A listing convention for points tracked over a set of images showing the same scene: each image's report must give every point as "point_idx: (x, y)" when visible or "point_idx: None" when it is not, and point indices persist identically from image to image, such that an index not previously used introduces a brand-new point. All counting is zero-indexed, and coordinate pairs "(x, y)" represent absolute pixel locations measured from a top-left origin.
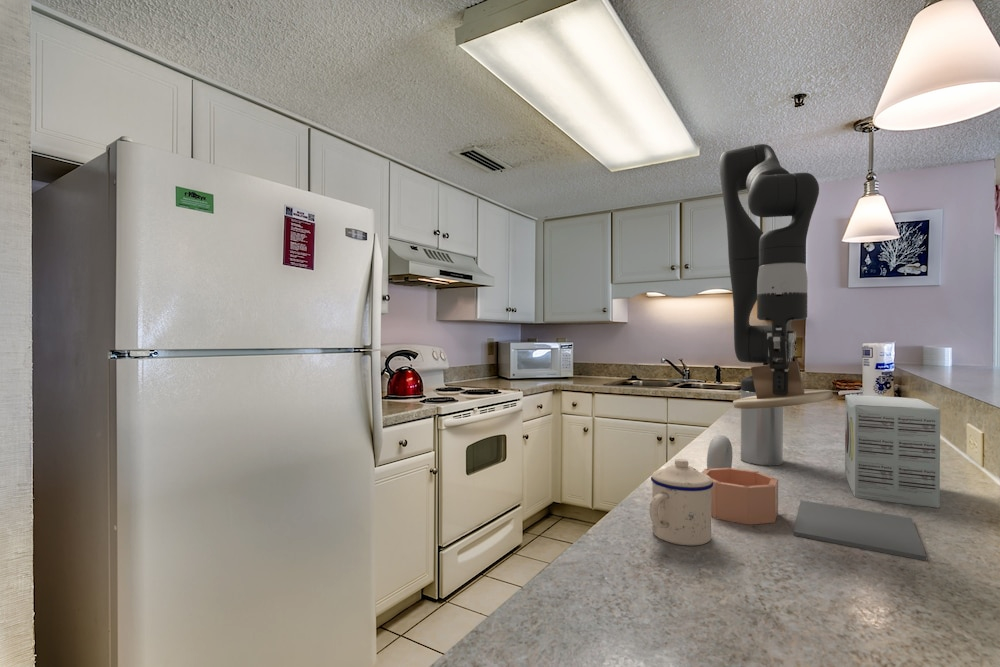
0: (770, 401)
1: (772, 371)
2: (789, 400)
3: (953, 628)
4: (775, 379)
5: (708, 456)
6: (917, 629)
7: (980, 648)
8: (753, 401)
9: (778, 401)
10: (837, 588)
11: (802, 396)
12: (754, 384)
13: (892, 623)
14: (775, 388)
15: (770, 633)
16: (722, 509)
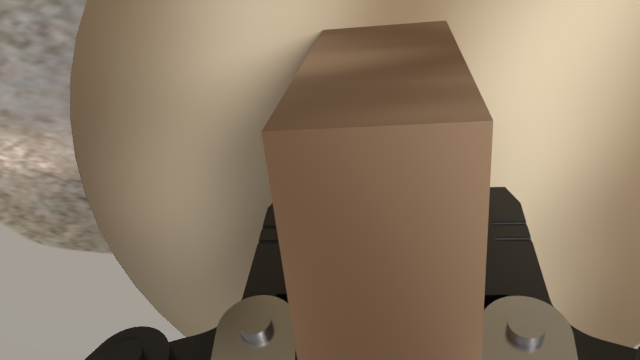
0: (80, 169)
1: (244, 305)
2: (120, 256)
3: (74, 225)
4: (251, 266)
5: None
6: (30, 197)
7: (49, 241)
8: (134, 47)
9: (93, 208)
10: (57, 114)
11: (225, 309)
12: (304, 64)
13: (17, 175)
14: (266, 213)
15: None
16: None
